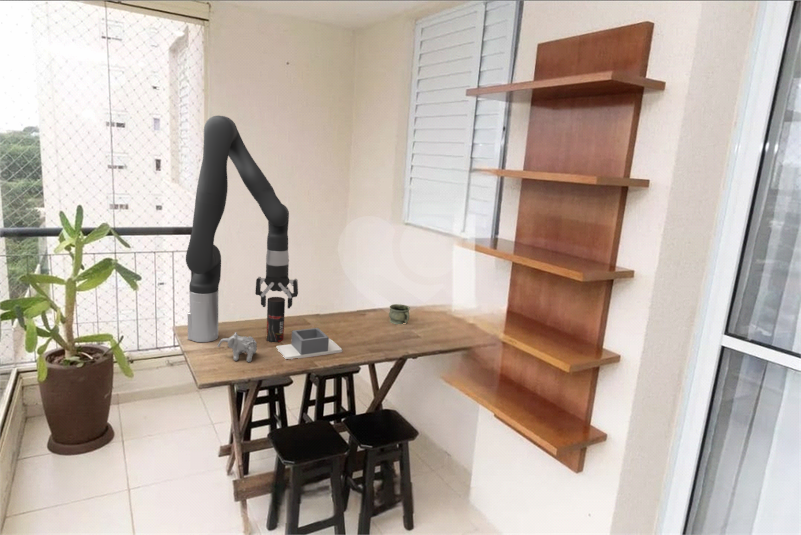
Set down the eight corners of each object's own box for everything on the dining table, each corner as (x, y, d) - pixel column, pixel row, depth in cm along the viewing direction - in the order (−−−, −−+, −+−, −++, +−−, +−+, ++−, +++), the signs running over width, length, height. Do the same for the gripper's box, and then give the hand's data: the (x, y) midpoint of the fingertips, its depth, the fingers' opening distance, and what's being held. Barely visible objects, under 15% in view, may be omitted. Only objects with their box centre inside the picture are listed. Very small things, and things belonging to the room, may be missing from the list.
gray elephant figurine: (258, 363, 161) (260, 340, 159) (218, 364, 156) (219, 341, 154) (254, 352, 169) (256, 330, 167) (216, 352, 164) (218, 330, 162)
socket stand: (285, 360, 164) (286, 343, 162) (276, 348, 172) (276, 332, 170) (342, 352, 174) (343, 335, 172) (330, 341, 182) (331, 325, 181)
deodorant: (279, 343, 176) (280, 302, 173) (263, 341, 177) (264, 300, 174) (286, 337, 182) (287, 298, 178) (271, 335, 183) (272, 295, 179)
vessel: (415, 324, 208) (417, 309, 207) (399, 327, 202) (401, 313, 201) (397, 315, 217) (398, 301, 215) (381, 318, 211) (382, 304, 210)
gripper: (253, 263, 169) (253, 309, 172) (296, 266, 170) (295, 311, 173) (258, 258, 176) (258, 302, 180) (299, 261, 177) (298, 304, 181)
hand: (276, 307), depth 177 cm, fingers open, 8 cm apart
